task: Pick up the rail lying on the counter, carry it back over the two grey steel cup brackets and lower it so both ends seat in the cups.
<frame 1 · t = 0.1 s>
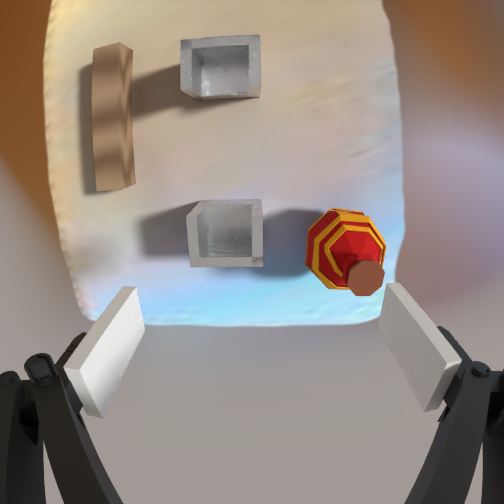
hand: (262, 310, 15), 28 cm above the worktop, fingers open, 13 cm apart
rail: (120, 116, 37), on the worktop
bracket a: (227, 77, 35), on the worktop
bracket b: (231, 221, 42), on the worktop
potion bottle: (332, 233, 43), on the worktop
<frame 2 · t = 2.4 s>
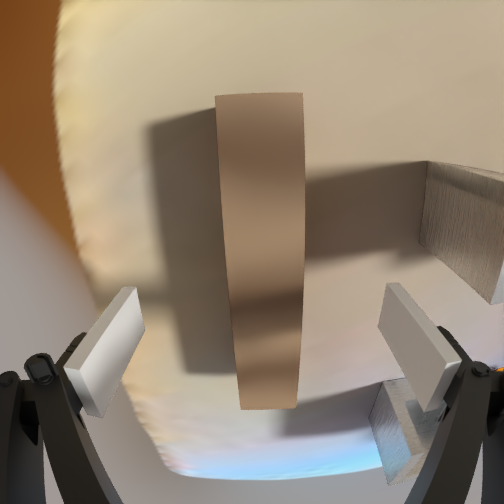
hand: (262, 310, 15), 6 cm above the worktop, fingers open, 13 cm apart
rail: (264, 255, 21), on the worktop
bracket a: (466, 205, 19), on the worktop
bracket b: (410, 395, 26), on the worktop
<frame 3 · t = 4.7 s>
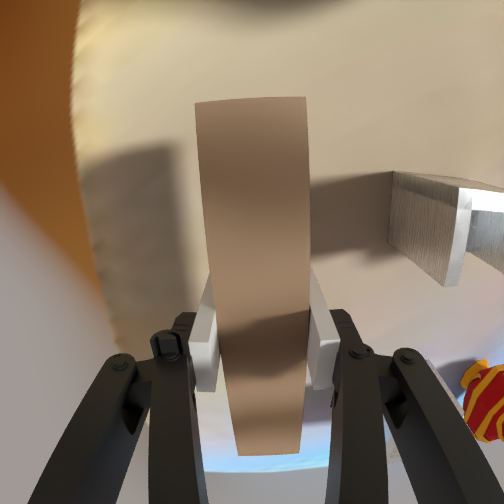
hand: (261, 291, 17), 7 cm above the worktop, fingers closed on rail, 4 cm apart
rail: (261, 289, 18), point 7 cm above the worktop, touching gripper
bracket a: (430, 208, 23), on the worktop
bracket b: (391, 384, 30), on the worktop
potion bottle: (474, 373, 31), on the worktop
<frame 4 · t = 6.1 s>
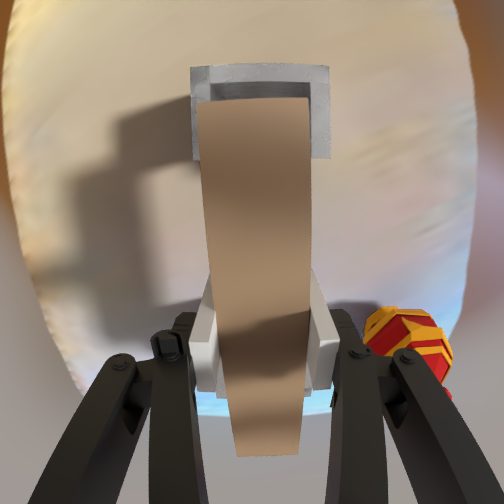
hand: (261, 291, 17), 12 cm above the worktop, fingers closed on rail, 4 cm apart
rail: (261, 290, 18), point 12 cm above the worktop, touching gripper
bracket a: (259, 119, 25), on the worktop
bracket b: (262, 317, 32), on the worktop
potion bottle: (384, 324, 33), on the worktop
when the fingers open (2 cm above the worktop, at t = 7.7 s): rail stays where it is, resting on bracket a, bracket b.
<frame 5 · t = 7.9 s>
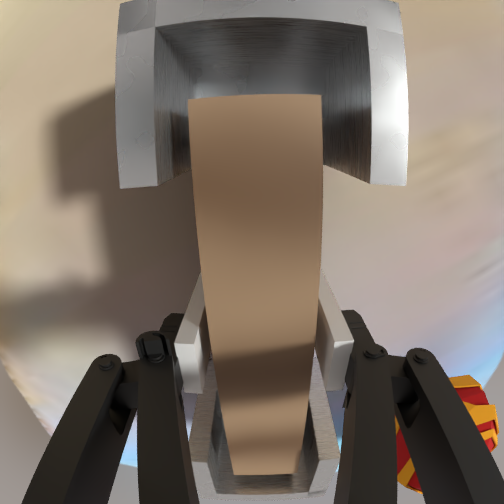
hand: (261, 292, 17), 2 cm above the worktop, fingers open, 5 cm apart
rail: (261, 305, 16), point 3 cm above the worktop, touching bracket a, bracket b
bracket a: (259, 107, 15), on the worktop
bracket b: (261, 387, 23), on the worktop
potion bottle: (416, 384, 23), on the worktop
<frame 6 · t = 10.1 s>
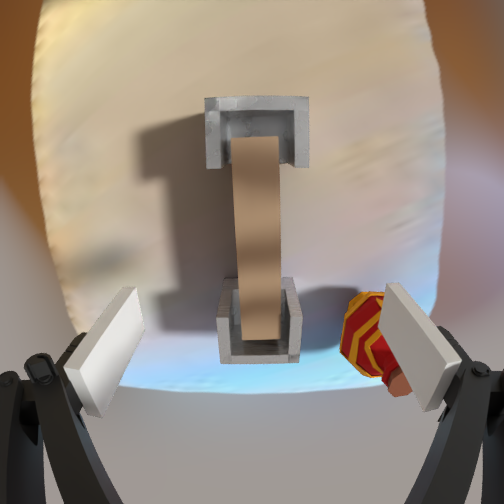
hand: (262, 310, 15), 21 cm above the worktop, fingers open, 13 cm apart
rail: (258, 233, 32), point 3 cm above the worktop, touching bracket a, bracket b
bracket a: (256, 134, 32), on the worktop
bracket b: (258, 299, 39), on the worktop
potion bottle: (364, 307, 39), on the worktop
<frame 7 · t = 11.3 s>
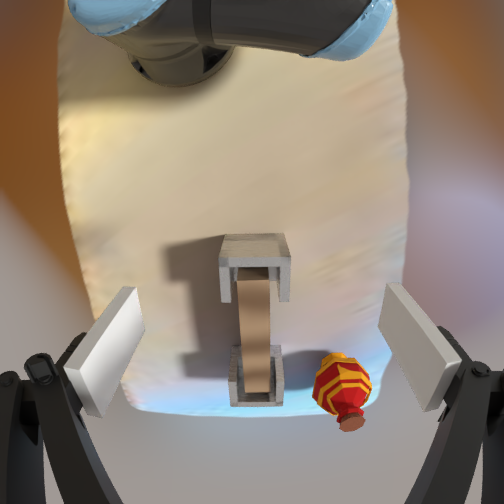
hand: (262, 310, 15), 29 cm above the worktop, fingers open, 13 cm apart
rail: (255, 324, 46), point 3 cm above the worktop, touching bracket a, bracket b
bracket a: (254, 253, 45), on the worktop
bracket b: (256, 358, 52), on the worktop
potion bottle: (334, 362, 53), on the worktop
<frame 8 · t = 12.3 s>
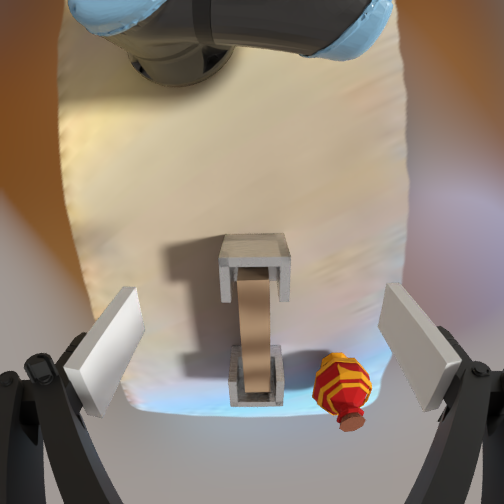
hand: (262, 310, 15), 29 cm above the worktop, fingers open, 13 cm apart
rail: (255, 324, 46), point 3 cm above the worktop, touching bracket a, bracket b
bracket a: (254, 253, 45), on the worktop
bracket b: (256, 358, 52), on the worktop
potion bottle: (334, 362, 53), on the worktop
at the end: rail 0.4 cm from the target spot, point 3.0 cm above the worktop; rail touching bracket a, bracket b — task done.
